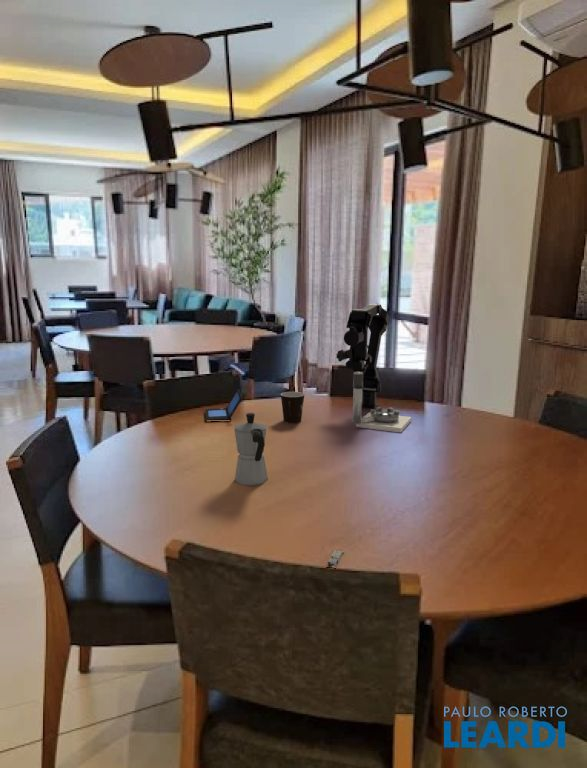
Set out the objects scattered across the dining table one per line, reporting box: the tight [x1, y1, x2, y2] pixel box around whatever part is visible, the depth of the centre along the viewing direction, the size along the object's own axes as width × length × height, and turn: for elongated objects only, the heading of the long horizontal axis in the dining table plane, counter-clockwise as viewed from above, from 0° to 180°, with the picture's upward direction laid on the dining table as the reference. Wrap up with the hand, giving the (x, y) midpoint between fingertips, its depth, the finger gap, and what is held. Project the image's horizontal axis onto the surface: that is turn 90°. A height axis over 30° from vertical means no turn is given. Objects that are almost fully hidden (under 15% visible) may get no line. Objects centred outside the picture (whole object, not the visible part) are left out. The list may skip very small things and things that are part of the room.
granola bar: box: [324, 549, 345, 568], centre depth 103 cm, size 7×2×1 cm, turn 162°
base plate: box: [355, 412, 412, 433], centre depth 195 cm, size 16×16×2 cm
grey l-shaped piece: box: [352, 371, 400, 424], centre depth 191 cm, size 10×19×18 cm, turn 113°
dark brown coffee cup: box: [280, 391, 305, 424], centre depth 196 cm, size 12×9×10 cm
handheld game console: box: [204, 388, 243, 421], centre depth 203 cm, size 16×13×9 cm
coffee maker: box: [233, 412, 269, 487], centre depth 139 cm, size 15×9×18 cm, turn 23°
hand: (358, 383), depth 206 cm, fingers closed
